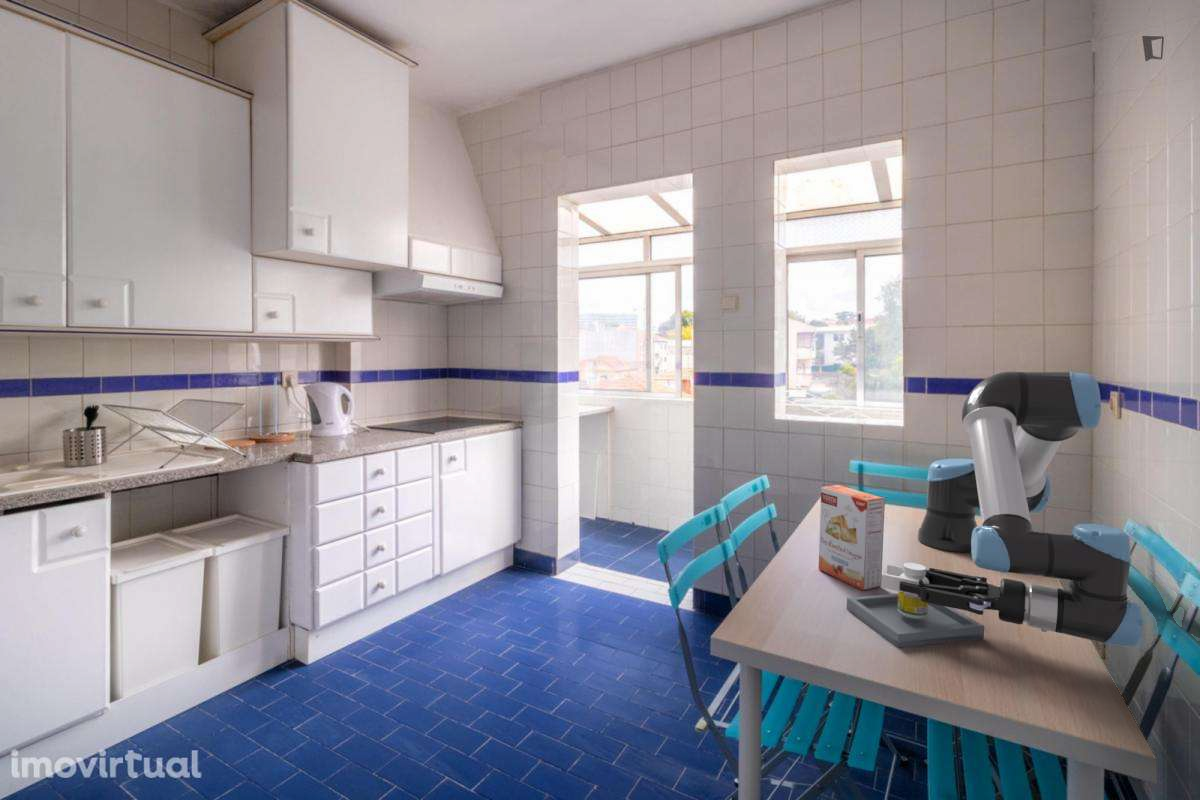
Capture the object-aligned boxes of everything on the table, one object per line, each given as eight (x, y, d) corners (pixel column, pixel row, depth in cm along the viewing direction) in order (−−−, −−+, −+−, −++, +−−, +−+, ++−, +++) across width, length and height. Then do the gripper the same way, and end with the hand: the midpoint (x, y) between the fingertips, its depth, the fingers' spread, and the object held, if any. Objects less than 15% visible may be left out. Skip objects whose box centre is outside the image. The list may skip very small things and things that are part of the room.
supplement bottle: (924, 622, 115) (926, 573, 114) (893, 614, 118) (896, 566, 117) (930, 612, 119) (932, 565, 118) (901, 605, 122) (903, 559, 121)
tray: (923, 602, 128) (924, 591, 128) (983, 638, 112) (984, 626, 112) (846, 609, 125) (846, 597, 125) (897, 647, 109) (898, 634, 109)
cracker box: (816, 570, 147) (819, 485, 145) (835, 566, 149) (838, 483, 147) (862, 591, 134) (866, 499, 132) (882, 587, 136) (886, 497, 134)
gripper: (1024, 644, 100) (874, 609, 114) (1024, 605, 116) (891, 579, 129) (1027, 601, 100) (876, 571, 113) (1026, 568, 115) (893, 544, 128)
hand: (884, 575), depth 121 cm, fingers closed on supplement bottle, 5 cm apart
